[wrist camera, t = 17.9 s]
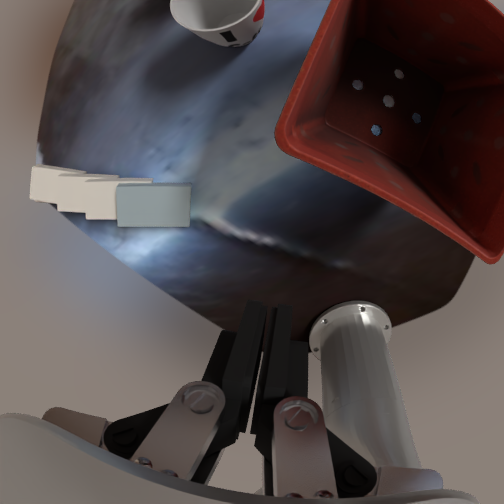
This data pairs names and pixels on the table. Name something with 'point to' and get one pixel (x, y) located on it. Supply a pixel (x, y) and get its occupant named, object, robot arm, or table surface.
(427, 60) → the plant pot
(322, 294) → the table surface
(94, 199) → the domino
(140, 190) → the domino
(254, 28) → the cup
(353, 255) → the table surface
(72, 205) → the domino
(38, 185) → the domino
